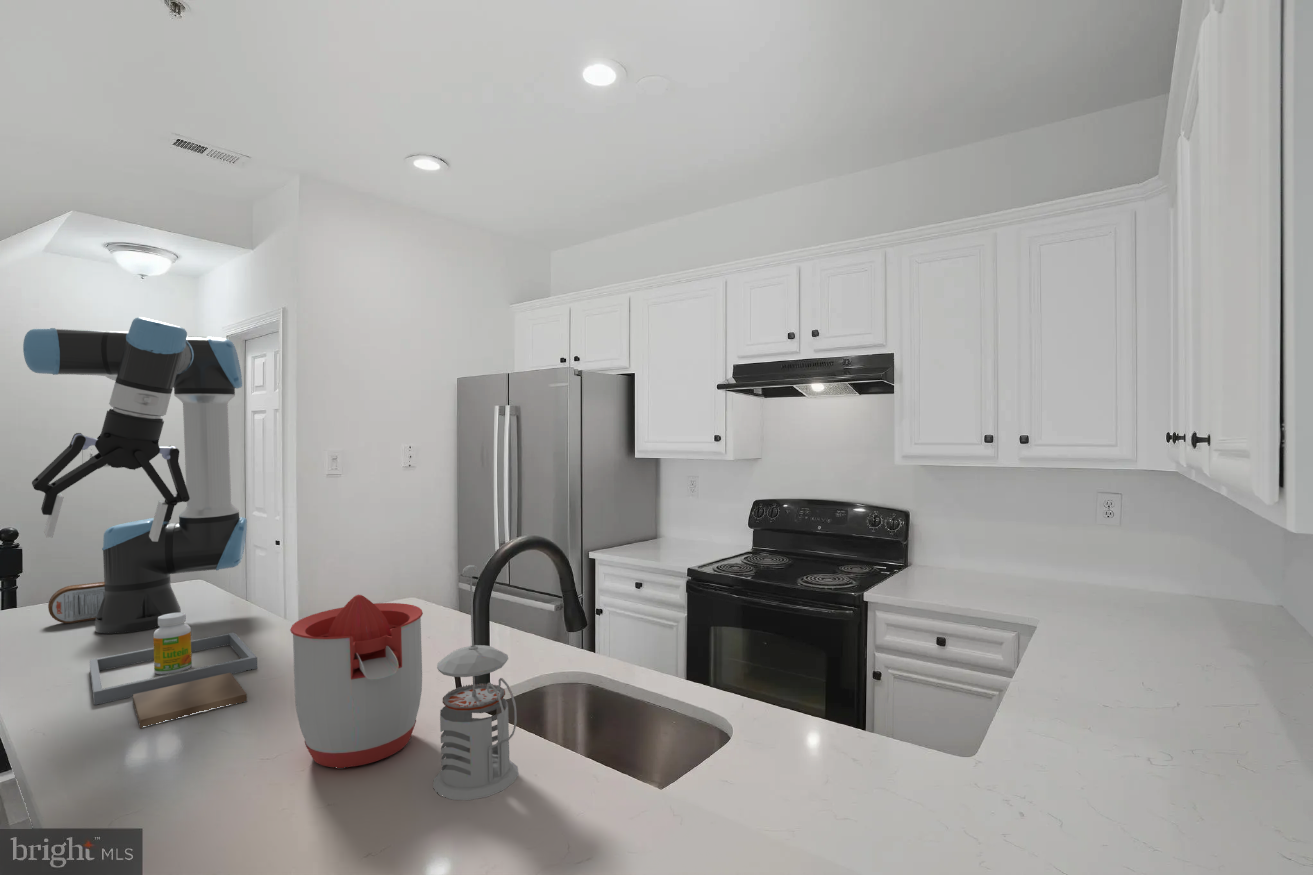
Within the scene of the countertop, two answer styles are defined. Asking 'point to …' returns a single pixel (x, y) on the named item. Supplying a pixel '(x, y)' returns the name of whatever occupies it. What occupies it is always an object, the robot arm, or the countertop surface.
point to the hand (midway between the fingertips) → (103, 537)
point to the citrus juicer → (358, 680)
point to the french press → (474, 724)
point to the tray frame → (128, 689)
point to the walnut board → (187, 698)
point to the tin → (77, 602)
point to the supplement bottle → (172, 644)
